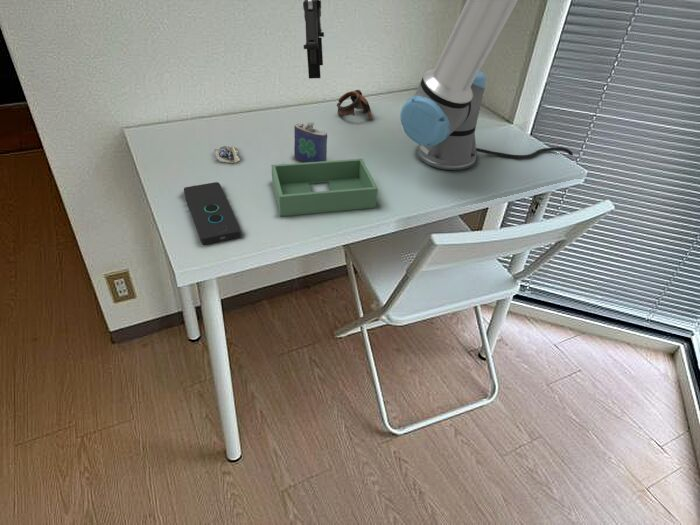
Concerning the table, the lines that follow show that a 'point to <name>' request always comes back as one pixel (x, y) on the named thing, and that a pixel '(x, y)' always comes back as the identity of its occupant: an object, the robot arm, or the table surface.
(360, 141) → the table surface
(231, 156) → the geode half
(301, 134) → the flask
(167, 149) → the table surface
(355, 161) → the open box
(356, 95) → the brown looped sculpture
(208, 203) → the smart home device
